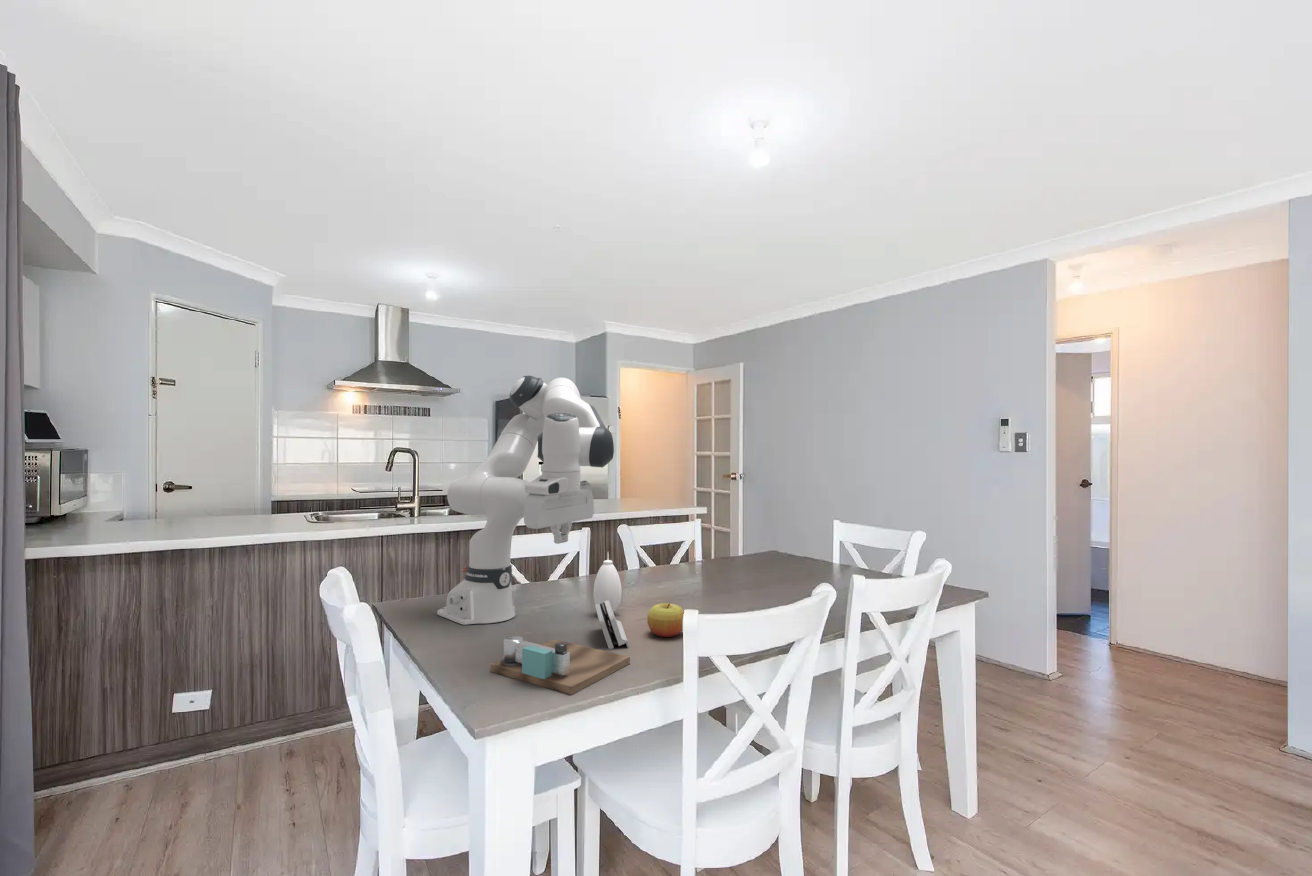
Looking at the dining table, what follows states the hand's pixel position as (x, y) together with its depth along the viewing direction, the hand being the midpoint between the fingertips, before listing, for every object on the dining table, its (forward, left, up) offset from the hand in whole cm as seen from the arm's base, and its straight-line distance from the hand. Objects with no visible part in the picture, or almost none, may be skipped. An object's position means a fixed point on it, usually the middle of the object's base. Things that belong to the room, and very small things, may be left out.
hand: (561, 542), depth 141 cm
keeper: (+8, -16, -24) cm, 30 cm away
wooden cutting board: (+7, -7, -25) cm, 27 cm away
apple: (+14, +25, -26) cm, 39 cm away
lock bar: (+5, -14, -23) cm, 27 cm away
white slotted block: (+4, +15, -26) cm, 30 cm away
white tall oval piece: (-9, +31, -26) cm, 42 cm away
